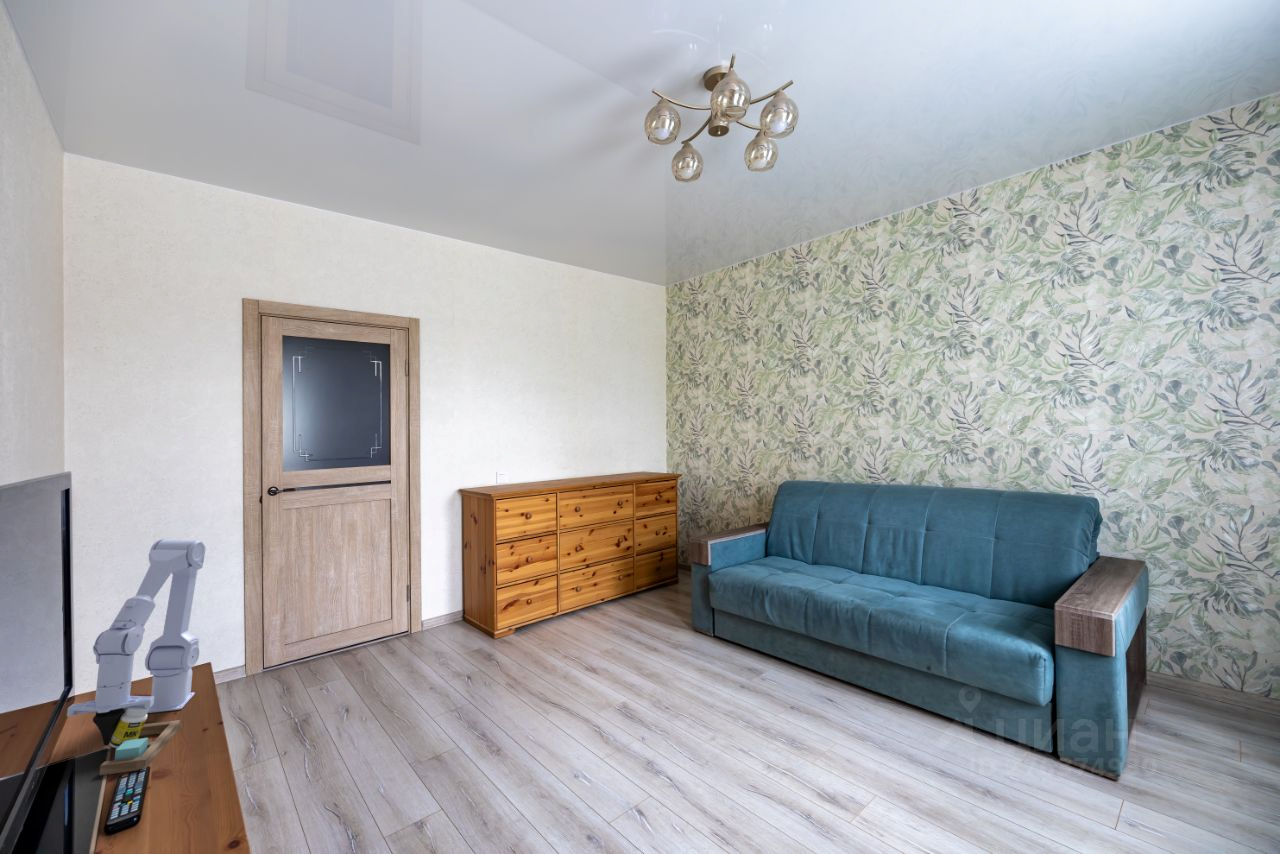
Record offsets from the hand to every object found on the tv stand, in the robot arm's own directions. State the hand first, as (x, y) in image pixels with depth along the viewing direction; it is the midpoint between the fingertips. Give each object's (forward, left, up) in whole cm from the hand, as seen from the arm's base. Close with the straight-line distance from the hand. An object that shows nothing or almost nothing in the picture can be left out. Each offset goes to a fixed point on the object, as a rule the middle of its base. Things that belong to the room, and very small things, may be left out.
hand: (108, 743), depth 121 cm
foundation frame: (+3, +7, -1) cm, 8 cm away
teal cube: (+8, +7, -1) cm, 11 cm away
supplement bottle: (0, +3, -1) cm, 3 cm away
